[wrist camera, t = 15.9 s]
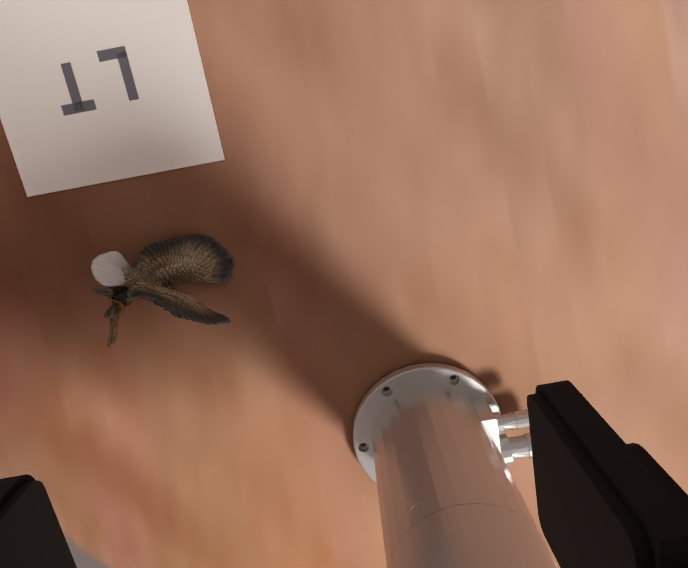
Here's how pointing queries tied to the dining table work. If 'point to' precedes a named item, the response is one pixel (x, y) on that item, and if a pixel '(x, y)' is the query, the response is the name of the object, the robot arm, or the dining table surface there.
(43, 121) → the white square panel
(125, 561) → the dining table surface
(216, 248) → the eagle figurine
